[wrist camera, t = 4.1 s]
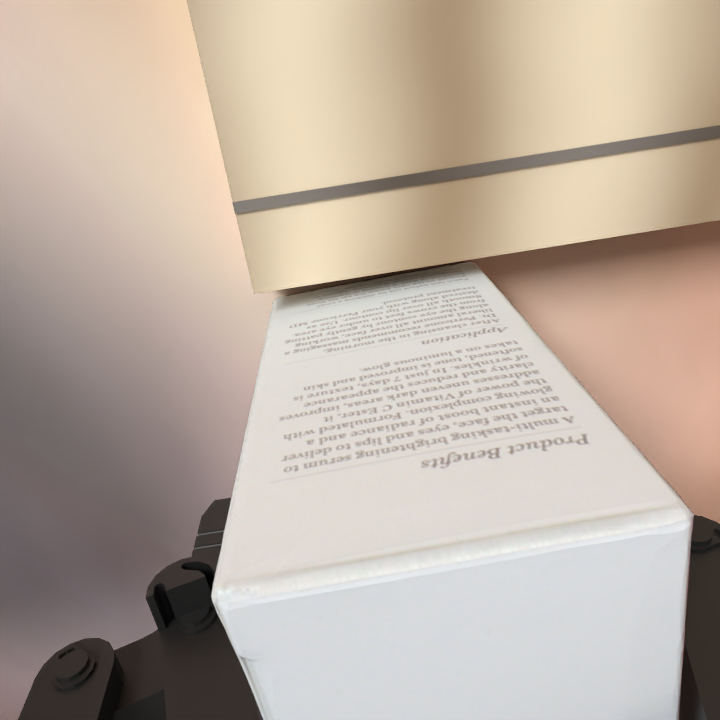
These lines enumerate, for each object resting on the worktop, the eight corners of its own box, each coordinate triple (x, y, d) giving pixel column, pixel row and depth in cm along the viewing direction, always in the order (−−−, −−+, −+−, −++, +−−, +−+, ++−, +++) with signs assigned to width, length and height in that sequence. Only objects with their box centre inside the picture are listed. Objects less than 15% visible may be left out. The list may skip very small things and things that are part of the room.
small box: (500, 495, 19) (677, 899, 10) (326, 527, 20) (338, 958, 10) (478, 252, 16) (718, 512, 7) (268, 291, 16) (201, 604, 7)
